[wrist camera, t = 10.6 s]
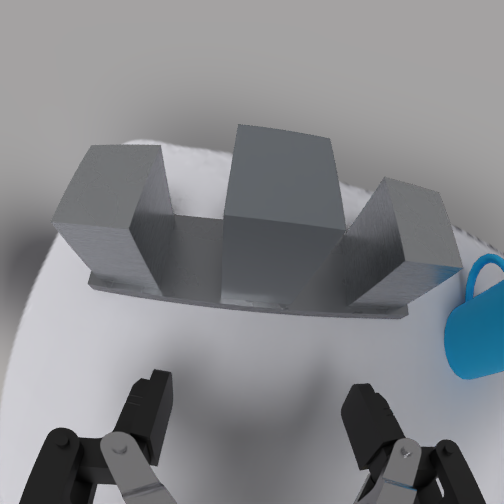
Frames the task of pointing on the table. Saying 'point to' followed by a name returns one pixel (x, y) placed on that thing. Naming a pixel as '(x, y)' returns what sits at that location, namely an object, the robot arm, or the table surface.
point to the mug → (477, 328)
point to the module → (278, 214)
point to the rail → (211, 243)
